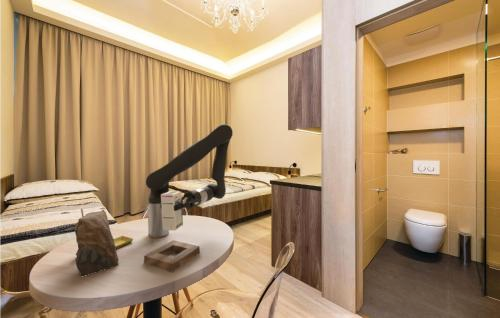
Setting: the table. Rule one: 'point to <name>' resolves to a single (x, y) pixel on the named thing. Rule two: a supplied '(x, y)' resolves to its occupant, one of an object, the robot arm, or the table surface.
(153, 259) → the hole board
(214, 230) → the table surface
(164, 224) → the syrup box
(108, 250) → the brown rough tall block
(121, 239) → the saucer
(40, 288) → the table surface
